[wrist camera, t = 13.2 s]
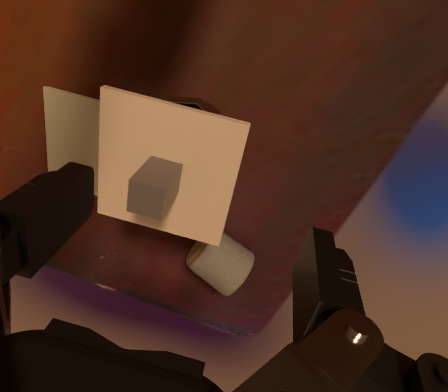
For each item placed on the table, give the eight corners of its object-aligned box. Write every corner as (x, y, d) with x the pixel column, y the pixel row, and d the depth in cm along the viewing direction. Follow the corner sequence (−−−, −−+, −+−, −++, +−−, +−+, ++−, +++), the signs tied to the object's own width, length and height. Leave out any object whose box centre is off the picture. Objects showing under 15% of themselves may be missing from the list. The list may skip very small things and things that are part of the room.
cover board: (104, 84, 30) (66, 101, 24) (250, 123, 29) (242, 147, 24) (101, 208, 36) (70, 241, 31) (220, 241, 36) (208, 280, 31)
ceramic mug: (215, 215, 52) (203, 246, 45) (258, 244, 53) (252, 279, 47) (180, 255, 57) (165, 288, 51) (220, 281, 58) (210, 317, 52)
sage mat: (45, 85, 47) (43, 86, 46) (151, 113, 46) (149, 114, 45) (51, 181, 54) (48, 182, 54) (142, 205, 53) (140, 207, 53)
